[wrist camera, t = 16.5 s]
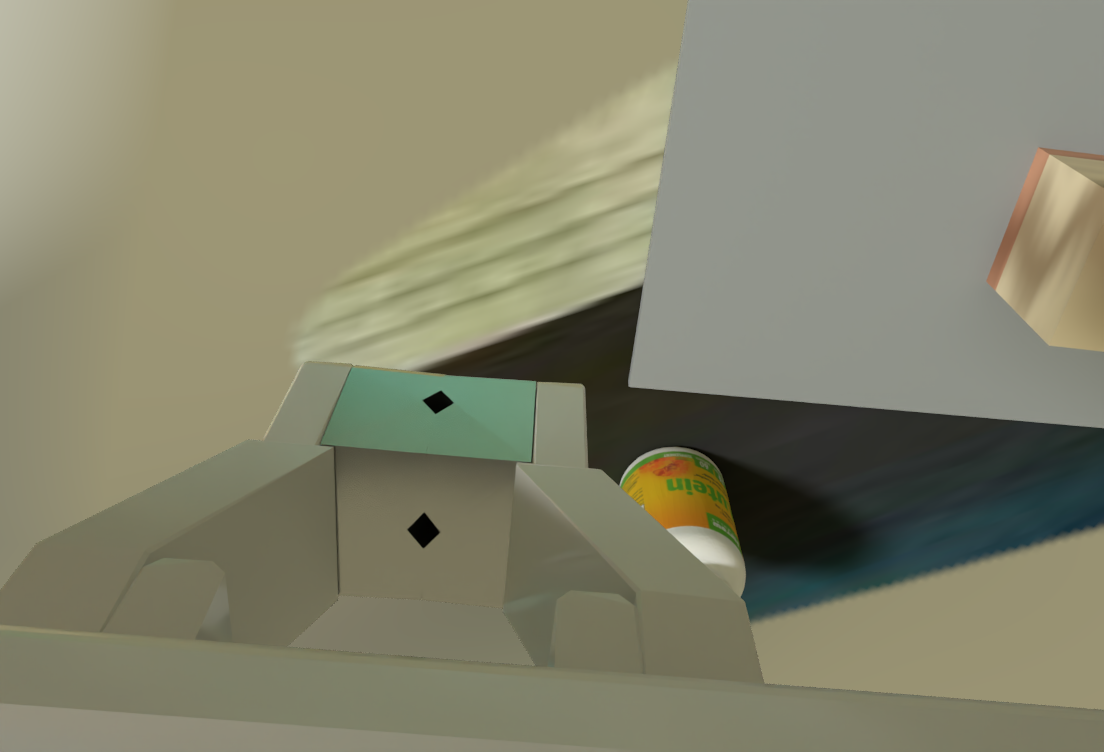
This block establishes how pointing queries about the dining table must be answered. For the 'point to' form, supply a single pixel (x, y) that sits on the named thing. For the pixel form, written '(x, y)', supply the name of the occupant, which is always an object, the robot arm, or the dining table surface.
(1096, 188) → the birch block
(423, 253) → the dining table surface
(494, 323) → the dining table surface
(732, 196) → the slate mat
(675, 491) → the supplement bottle
